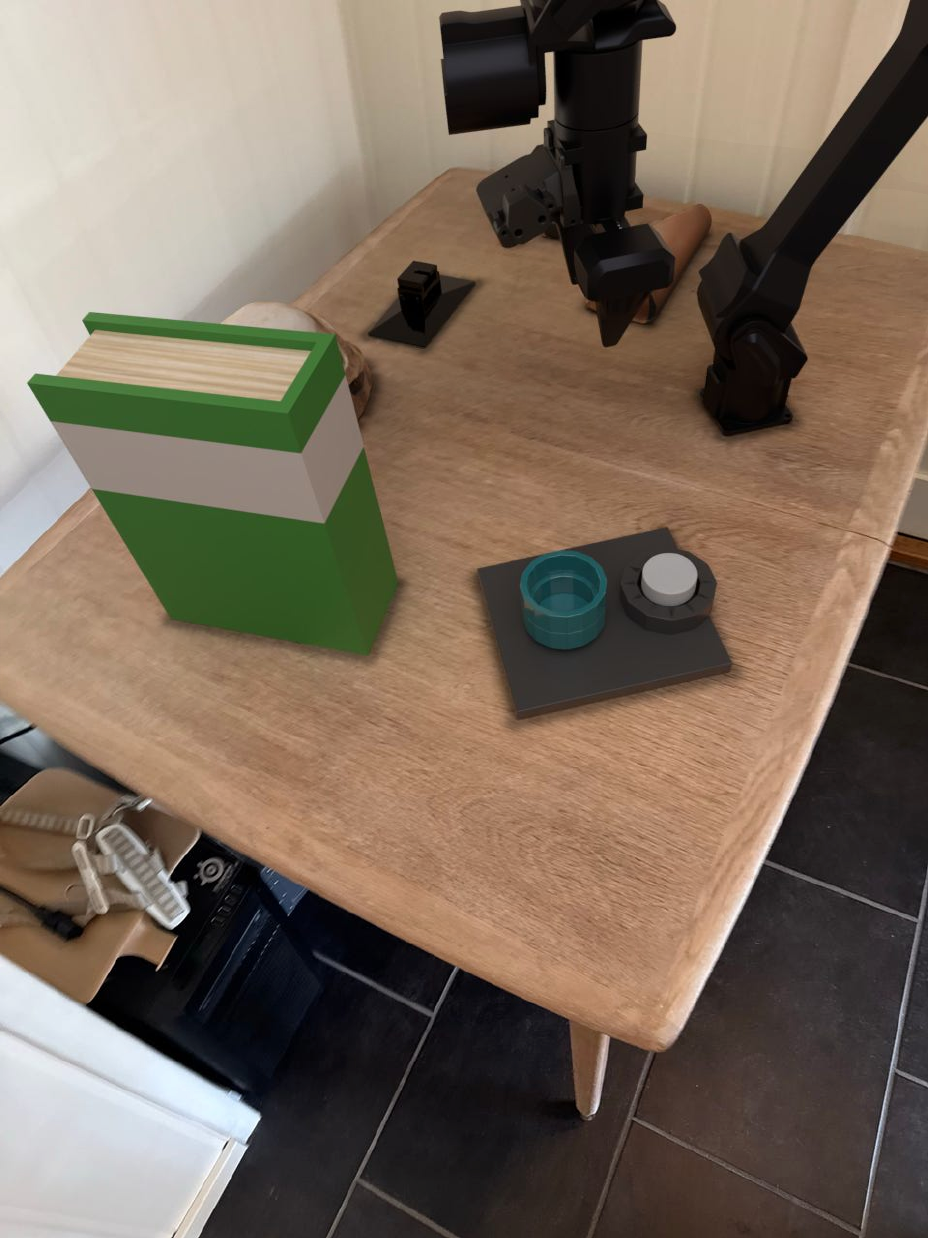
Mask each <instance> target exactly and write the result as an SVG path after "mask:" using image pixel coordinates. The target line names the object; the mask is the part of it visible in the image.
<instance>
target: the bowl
mask: <svg viewBox="0 0 928 1238" xmlns="http://www.w3.org/2000/svg"><path fill="white" fill-rule="evenodd" d="M560 550H561V551H560ZM560 550H555V551H550V552H547V553H546V552H545V553H542V554H543V555H542V554H541V555H542V556H540V557H538V558H537V559H535V560H533V561H532V562H530V564H529V565H528V566H527V568H526V569H525V570H524V572H523V573H522V577H521V582H520V593H521V606H522V618H523V622H524V625H525V628H526V631H527V632H528V633H529V634H530V635H531V636H532V637H533V638H534V639H535V641H537V642H539V643H541V644H543V645H545V646H547V647H551V648H554V649H564V650H568V649H573V648H577V647H581V646H584V645H586V644H587V643H589V642H590V641H592V640H594V639H595V638H596V637H597V636H598V635H599V633H600V632H601V630H602V629H603V627H604V625H605V617H606V601H607V578H606V575H605V573H604V570H603V568H602V567H601V566H600V565H599V564H598V563H597V562H596V561H595V560H594V559H593V558H591V557H589V556H587V555H584V554H582V553H579V552H576V551H564V549H560Z"/></svg>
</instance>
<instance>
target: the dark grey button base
mask: <svg viewBox="0 0 928 1238" xmlns="http://www.w3.org/2000/svg"><path fill="white" fill-rule="evenodd" d="M561 550H562V549H560V550H559V551H561ZM563 550H564V551H576V552H579V553H582V554H584V555H587V556H589V557H591V558H593V559H594V560H595V561H596V562H597V563H598V564H599V565H600V566H601V567H602V568H603V570H604V573H605V575H606V578H607V601H606V617H605V625H604V627H603V629H602V630H601V632H600V633H599V635H598V636H597V637H596V638H595V639H594V640H592V641H590V642H589V643H587V644H586V645H584V646H581V647H577V648H573V649H568V650H564V649H554V648H551V647H547V646H545V645H543V644H541V643H539V642H537V641H535V639H534V638H533V637H532V636H531V635H530V634H529V633H528V632H527V631H526V628H525V625H524V622H523V618H522V606H521V593H520V582H521V577H522V573H523V572H524V570H525V569H526V568H527V566H528V565H529V564H530V562H532V561H533V560H535V559H537V558H538V557H540V556H542V555H543V554H544V553H541V554H537V555H533V556H528V557H524V558H519V559H515V560H510V561H506V562H501V563H496V564H492V565H487V566H482V567H478V568H477V569H476V573H477V579H478V583H479V586H480V590H481V594H482V597H483V601H484V605H485V608H486V611H487V615H488V619H489V623H490V626H491V630H492V633H493V637H494V642H495V645H496V648H497V651H498V655H499V659H500V663H501V666H502V670H503V674H504V677H505V680H506V684H507V688H508V693H509V695H510V699H511V703H512V707H513V710H514V714H515V717H516V720H517V721H520V720H526V719H530V718H534V717H538V716H542V715H547V714H552V713H556V712H561V711H564V710H568V709H573V708H578V707H583V706H587V705H591V704H597V703H600V702H604V701H609V700H614V699H617V698H623V697H627V696H631V695H635V694H636V695H637V694H640V693H644V692H648V691H653V690H657V689H662V688H666V687H670V686H675V685H679V684H683V683H690V682H692V681H697V680H701V679H706V678H711V677H715V676H719V675H723V674H727V673H731V669H732V666H733V662H732V660H731V658H730V656H729V653H728V652H727V649H726V646H725V645H724V643H723V641H722V639H721V636H720V635H719V632H718V630H717V628H716V625H715V623H714V622H713V620H712V618H711V614H712V611H713V606H714V601H715V596H716V591H717V586H718V581H717V578H716V577H715V575H714V573H713V571H712V569H711V567H710V565H709V563H707V562H706V561H704V560H702V559H701V558H699V557H698V556H697V555H695V554H693V553H692V552H691V551H689V550H683V549H679V548H678V546H677V544H676V542H675V540H674V538H673V536H672V534H671V531H670V529H669V528H668V526H664V527H660V528H655V529H650V530H647V531H641V532H637V533H633V534H632V533H631V534H628V535H624V536H620V537H615V538H611V539H606V540H600V541H596V542H592V543H586V544H584V545H578V546H574V547H568V548H564V549H563ZM663 553H674V554H679V555H682V556H684V557H686V558H687V559H689V560H690V561H691V562H692V563H693V564H694V566H695V567H696V570H697V582H696V588H695V592H694V594H693V596H692V597H691V598H690V599H689V600H688V601H687V602H685V603H683V604H681V605H678V606H662V605H658V604H656V603H654V602H652V601H650V600H649V599H648V598H647V597H646V596H645V594H644V593H643V591H642V587H641V581H642V570H643V567H644V565H645V563H646V562H647V561H648V560H649V559H650V558H652V557H654V556H656V555H659V554H663Z"/></svg>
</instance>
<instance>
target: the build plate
mask: <svg viewBox="0 0 928 1238" xmlns="http://www.w3.org/2000/svg"><path fill="white" fill-rule="evenodd" d="M396 280H397V286H398V287H397V295H398V296H397V297H398V298H397V299H396V300H395V301H394V302H393V303H392V304H391V305H390V307H389V308H388V309H387V310H386V311H385V312H384V314H383V315H382V316H381V317H380V318H379V319H378V321H377V322H376V323H375V324H374V325H373V326H372V327H371V328H370V329H369V331H368V332H367V336H368V338H372V339H376V340H382V341H387V342H391V343H395V344H399V345H405V346H409V347H413V348H417V349H426V348H427V347H428V346H429V344H430V343H431V342H432V341H433V340H434V338H435V337H436V336H437V335H438V334H439V332H440V331H441V329H442V328H443V327H444V325H445V324H446V323H447V322H448V320H450V318H451V317H452V316H453V314H454V313H455V312H456V310H457V309H458V308H459V306H460V305H461V304H462V303H463V301H464V300H465V299H466V298H467V296H468V295H469V294H470V293H471V292H472V290H473V289H474V288H475V286H476V283H477V282H476V281H475V280H470V279H466V278H460V277H454V276H450V275H444V274H440V271H439V270H438V265H437V264H434V263H430V262H429V263H428V262H423V261H417V260H412V262H410V264H408V266H407V267H406V268H405V269H404V271H402V273H401V274H400V275H399V276H398V277H397V278H396Z"/></svg>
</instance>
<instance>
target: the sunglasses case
mask: <svg viewBox="0 0 928 1238" xmlns="http://www.w3.org/2000/svg"><path fill="white" fill-rule="evenodd" d="M646 223H648V224H649V225H651V226H652V227H653V228H654V229H655V230H657V231H658V232H659V233H660V235H661V236H662V238H663V239H664V241H665V242H666V244H667V245H668V247H669V248H670V250H671V251H672V253H673V254H674V256H675V268H674V278H673V282H672V284H671V285H670V286H669V287H668V288H664V289H659V290H654V291H653V292H652V293H651V294H650V295H649V297H648V298H647V299H646V301H645V302H644V303H643V305H642V306H641V308H640V309H639V311H638V312H637V314H636V315H635V317H634V318H633V320H632V321H631V323H632V322H633V323H635V324H636V323H637V324H641V325H647V324H650V323H652V322H653V321H654V320H656V318H658V317H659V315H660V314H661V312H662V310H663V309H664V307H665V305H666V304H667V301H668V299H669V298H670V296H671V294H672V293H673V291H674V289H675V288H676V286H677V284H678V283H679V281H680V279H681V277H682V275H683V274H684V272H685V271H686V269H687V267H688V266H689V264H690V262H691V261H692V259H693V258H694V256H695V254H696V253H697V251H698V249H699V248H700V246H701V244H702V243H703V241H704V240H705V238H706V237H707V235H708V234H709V232H710V230H711V228H712V223H713V219H712V213H711V211H710V209H709V208H708V207H707V206H706V205H704V204H702V203H698V204H695V205H692V206H689V207H687V208H684V209H682V210H680V211H678V212H676V213H674V214H671V215H667V216H664V217H661V218H657V219H654V220H650V221H647V222H643V223H640V224H639V225H641V224H646ZM584 306H586V308H588V309H589V310H590V311H591V310H592V311H594V312H597V311H596V305H595V302H592V301H589V300H587V299H586V298H585V301H584Z"/></svg>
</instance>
